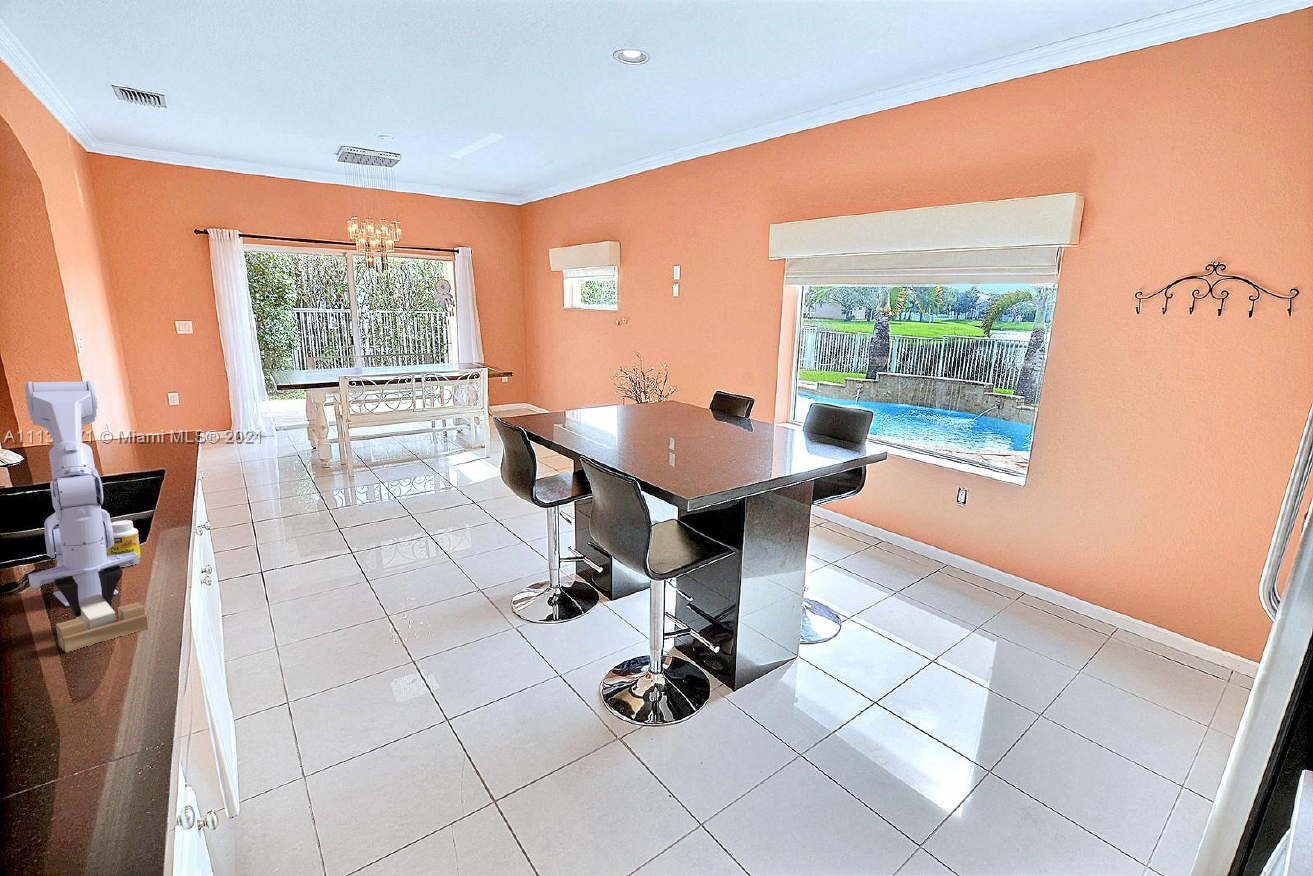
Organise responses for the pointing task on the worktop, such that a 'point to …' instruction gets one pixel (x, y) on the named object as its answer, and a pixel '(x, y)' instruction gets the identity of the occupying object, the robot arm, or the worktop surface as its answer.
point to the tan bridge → (101, 628)
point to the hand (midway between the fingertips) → (92, 611)
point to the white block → (96, 612)
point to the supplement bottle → (124, 539)
